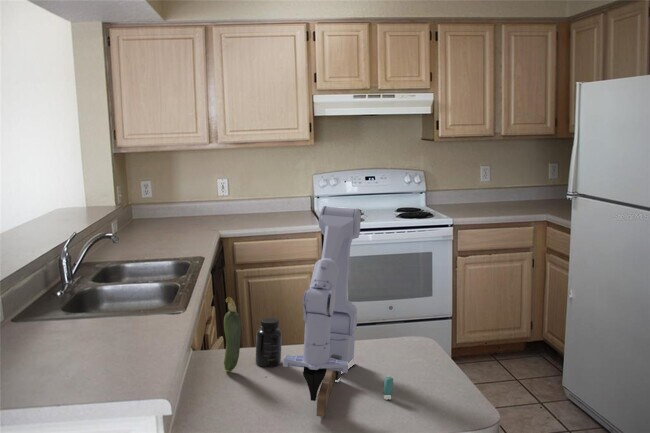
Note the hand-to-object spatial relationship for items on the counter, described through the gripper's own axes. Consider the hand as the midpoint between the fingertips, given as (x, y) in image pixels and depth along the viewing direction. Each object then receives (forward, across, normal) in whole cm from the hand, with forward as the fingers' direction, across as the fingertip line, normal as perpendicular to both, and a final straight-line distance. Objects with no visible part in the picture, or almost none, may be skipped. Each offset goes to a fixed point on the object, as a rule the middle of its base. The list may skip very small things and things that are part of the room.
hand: (313, 398), depth 132 cm
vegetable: (+2, -23, +14) cm, 27 cm away
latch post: (+2, +17, +8) cm, 19 cm away
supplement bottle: (+2, -15, +23) cm, 28 cm away
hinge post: (+2, +3, +16) cm, 16 cm away
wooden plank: (+1, +2, +4) cm, 5 cm away
